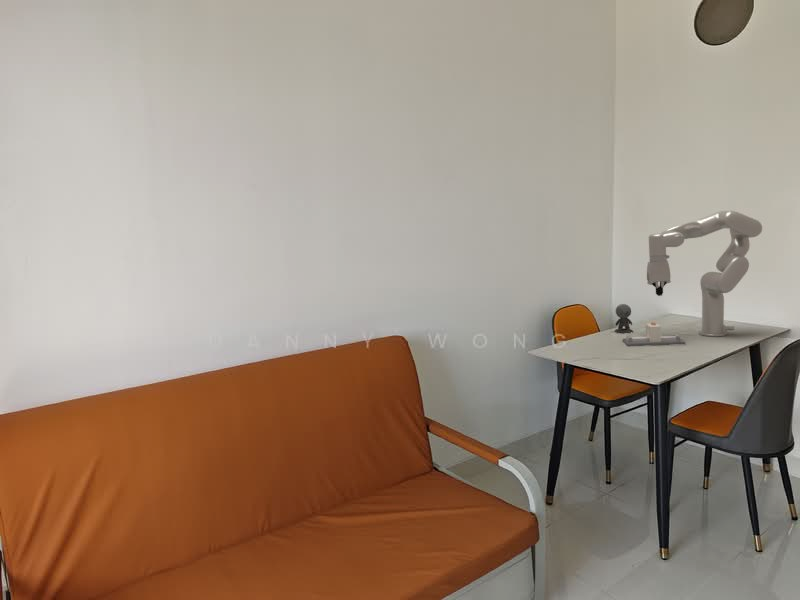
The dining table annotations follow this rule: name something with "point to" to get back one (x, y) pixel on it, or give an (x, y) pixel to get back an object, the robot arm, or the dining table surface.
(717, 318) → the robot arm
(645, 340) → the rail plate
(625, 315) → the figurine
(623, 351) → the dining table surface
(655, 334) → the block
